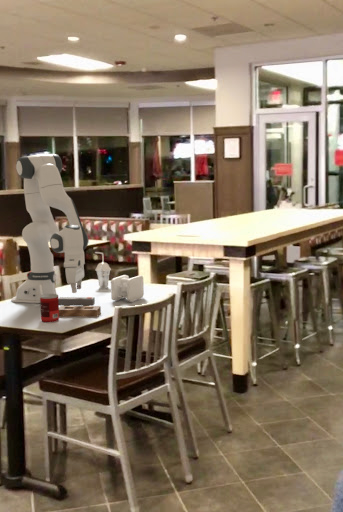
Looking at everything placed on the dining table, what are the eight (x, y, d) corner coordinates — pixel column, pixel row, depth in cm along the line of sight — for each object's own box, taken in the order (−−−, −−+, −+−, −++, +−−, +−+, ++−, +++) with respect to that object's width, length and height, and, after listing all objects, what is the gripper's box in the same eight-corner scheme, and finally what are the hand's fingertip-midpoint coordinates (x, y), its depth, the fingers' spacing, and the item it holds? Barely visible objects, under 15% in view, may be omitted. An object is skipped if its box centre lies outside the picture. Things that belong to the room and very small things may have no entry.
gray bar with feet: (58, 311, 313) (58, 298, 312) (60, 309, 317) (60, 296, 316) (93, 311, 312) (92, 298, 311) (94, 309, 316) (94, 296, 315)
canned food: (60, 318, 298) (59, 293, 297) (57, 322, 291) (57, 297, 289) (42, 318, 298) (41, 293, 297) (39, 322, 290) (38, 297, 289)
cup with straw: (112, 288, 368) (111, 251, 365) (95, 289, 366) (94, 252, 363) (110, 285, 376) (109, 249, 373) (93, 286, 374) (92, 250, 371)
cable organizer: (129, 303, 328) (128, 279, 326) (110, 302, 332) (109, 278, 331) (144, 298, 341) (143, 275, 340) (125, 296, 346) (125, 273, 344)
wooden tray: (56, 316, 302) (56, 309, 302) (61, 312, 310) (61, 305, 310) (97, 316, 301) (97, 309, 300) (100, 312, 309) (100, 306, 308)
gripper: (73, 257, 322) (75, 287, 323) (62, 264, 301) (64, 295, 303) (86, 257, 321) (88, 286, 323) (76, 263, 301) (78, 294, 303)
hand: (76, 290), depth 313 cm, fingers open, 8 cm apart
